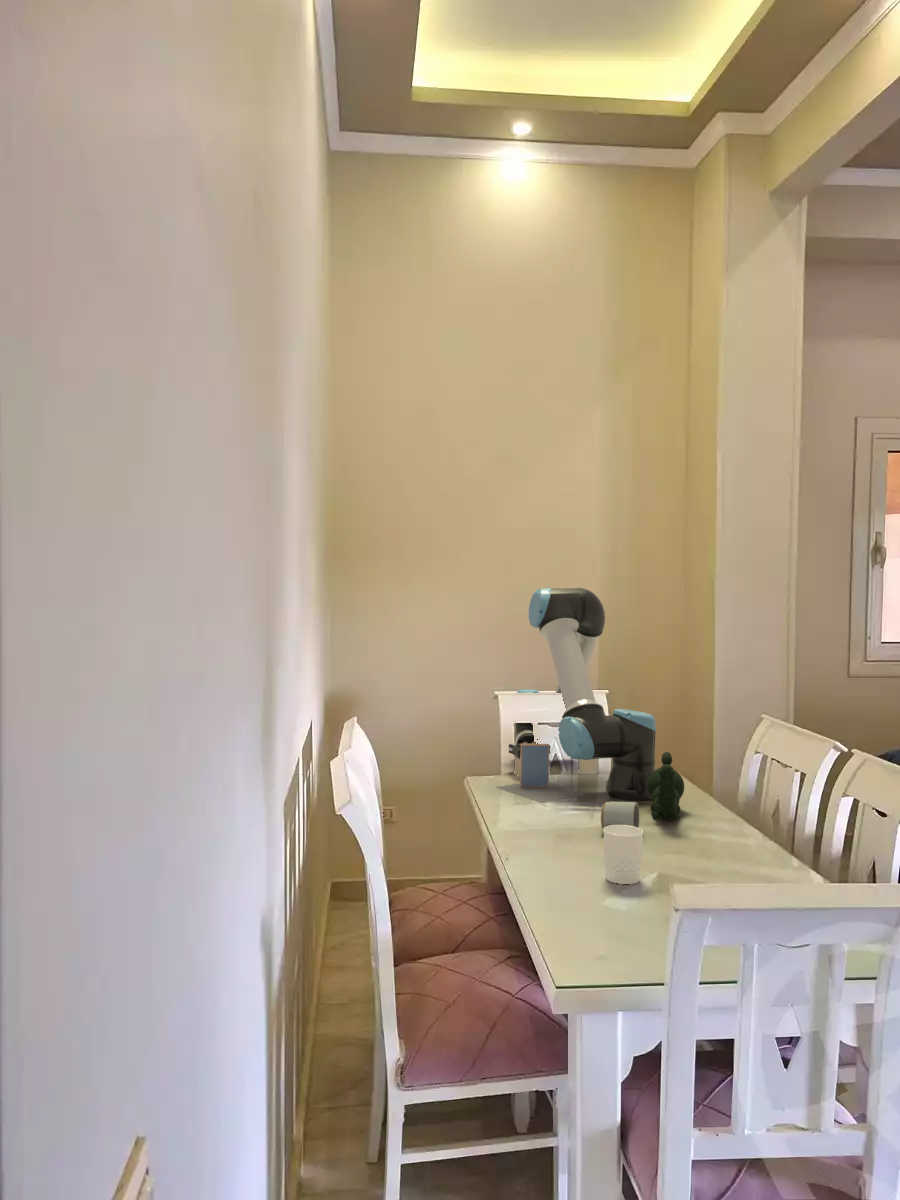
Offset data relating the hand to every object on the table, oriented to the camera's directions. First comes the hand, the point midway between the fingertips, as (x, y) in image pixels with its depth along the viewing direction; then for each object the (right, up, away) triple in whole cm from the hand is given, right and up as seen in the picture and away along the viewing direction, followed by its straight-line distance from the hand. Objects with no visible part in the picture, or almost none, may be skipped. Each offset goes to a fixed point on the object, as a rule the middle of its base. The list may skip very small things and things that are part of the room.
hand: (532, 760), depth 256 cm
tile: (0, -7, -2) cm, 7 cm away
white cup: (+11, -11, -75) cm, 77 cm away
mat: (+2, -8, -7) cm, 11 cm away
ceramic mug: (+17, -10, -45) cm, 49 cm away
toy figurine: (+31, -9, -28) cm, 43 cm away
